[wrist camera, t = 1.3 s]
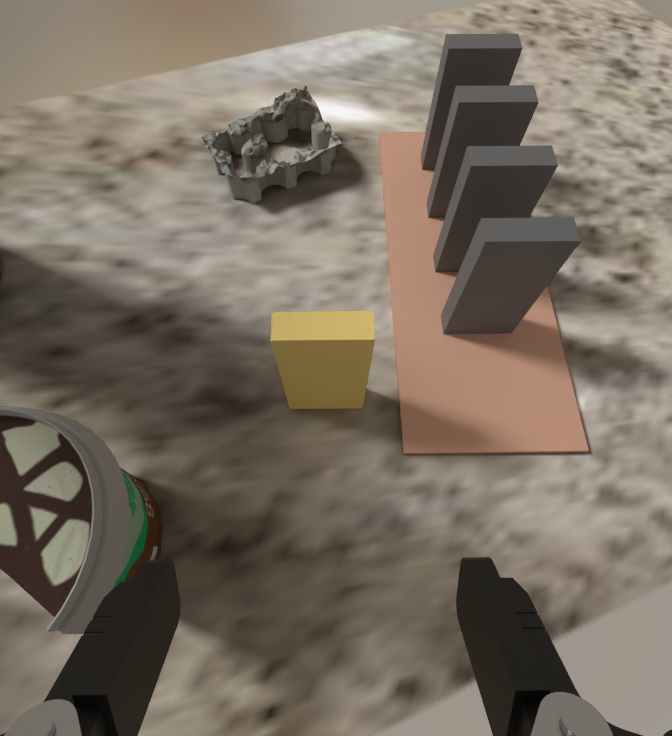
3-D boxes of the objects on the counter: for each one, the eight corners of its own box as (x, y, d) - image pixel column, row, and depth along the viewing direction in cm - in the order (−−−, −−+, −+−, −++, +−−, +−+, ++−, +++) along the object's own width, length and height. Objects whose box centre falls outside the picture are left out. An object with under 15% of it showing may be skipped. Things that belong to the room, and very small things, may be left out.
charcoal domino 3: (499, 271, 35) (557, 165, 25) (435, 272, 35) (471, 165, 25) (495, 255, 35) (551, 145, 26) (433, 255, 35) (467, 146, 26)
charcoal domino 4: (511, 333, 32) (580, 241, 23) (443, 334, 32) (485, 241, 23) (507, 314, 33) (573, 217, 24) (440, 315, 33) (481, 218, 24)
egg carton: (312, 123, 43) (310, 80, 39) (346, 175, 40) (348, 134, 36) (206, 157, 41) (193, 115, 37) (234, 213, 38) (224, 174, 34)
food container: (226, 520, 27) (172, 496, 18) (157, 615, 25) (57, 641, 16) (85, 415, 30) (-23, 348, 21) (12, 492, 28) (-144, 455, 19)
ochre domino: (362, 408, 30) (374, 339, 21) (289, 409, 30) (270, 340, 21) (362, 386, 31) (373, 310, 22) (290, 387, 31) (272, 311, 22)
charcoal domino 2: (488, 217, 37) (538, 101, 28) (428, 217, 37) (459, 102, 28) (485, 202, 38) (533, 85, 28) (426, 203, 38) (455, 85, 28)
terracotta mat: (585, 452, 29) (588, 450, 29) (403, 454, 29) (404, 452, 29) (507, 135, 42) (508, 131, 41) (379, 136, 41) (379, 132, 41)
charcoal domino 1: (478, 169, 39) (522, 48, 30) (422, 169, 39) (448, 48, 30) (476, 156, 40) (518, 33, 31) (420, 156, 40) (445, 34, 31)
